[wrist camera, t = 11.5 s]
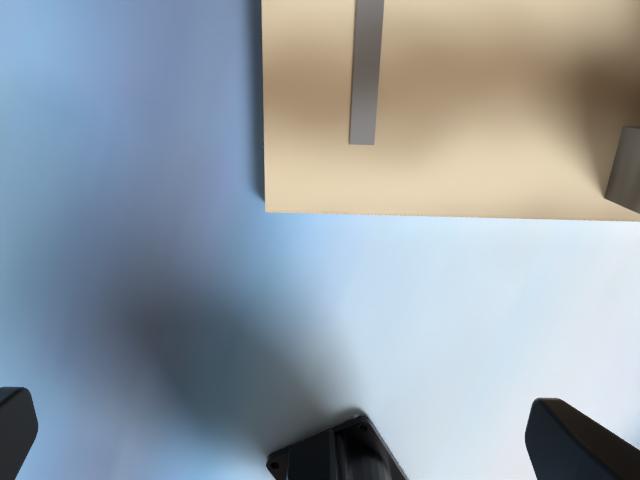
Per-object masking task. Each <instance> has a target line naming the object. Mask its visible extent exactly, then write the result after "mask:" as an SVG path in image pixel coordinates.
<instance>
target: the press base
mask: <svg viewBox="0 0 640 480" xmlns="http://www.w3.org/2000/svg"><path fill="white" fill-rule="evenodd" d="M262 53H263V108H264V164H265V212H282V213H322V214H361V215H401V216H440V217H480V218H520V219H559V220H599V221H639V222H640V0H262Z"/></svg>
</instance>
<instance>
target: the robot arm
mask: <svg viewBox="0 0 640 480" xmlns="http://www.w3.org/2000/svg"><path fill="white" fill-rule="evenodd" d="M361 425H365V426H364V427H359V426H361ZM37 432H38V421H37V417H36V413H35V409H34V405H33V401H32V397H31V394H30V392H29V390H28V389H27V388H24V387H1V388H0V480H15V478H16V476H17V474H18V472H19V470H20V468H21V466H22V464H23V462H24V460H25V458H26V456H27V454H28V452H29V450H30V448H31V446H32V444H33V442H34V440H35V438H36V435H37ZM525 443H526V448H527V451H528V454H529V457H530V460H531V463H532V465H533V468H534V471H535V474H536V477H537V480H640V450H638V449H637V448H635V447H634V446H632V445H631V444H629V443H628V442H626V441H625V440H623V439H621V438H620V437H618V436H617V435H615V434H614V433H612V432H611V431H609V430H608V429H606V428H605V427H603V426H601V425H600V424H598V423H597V422H595V421H594V420H592V419H591V418H589V417H588V416H586V415H584V414H583V413H581V412H580V411H578V410H577V409H575V408H574V407H572V406H571V405H569V404H568V403H566V402H564V401H563V400H561V399H558V398H537V399H535V400H534V401H533V403H532V407H531V411H530V415H529V419H528V423H527V427H526V431H525ZM273 462H277V463H273ZM266 467H267V469H268V470H269V471H270V473H271V474H272V475H273V476H274V478H275V479H276V480H408V479H407V477H406V475H405V474H404V472H403V471H402V469H401V468H400V466H399V464H398V463H397V461H396V460H395V458H394V457H393V455H392V453H391V452H390V450H389V449H388V447H387V445H386V444H385V442H384V441H383V439H382V438H381V436H380V434H379V433H378V431H377V430H376V428H375V427H374V425H373V423H372V422H371V420H370V419H369V418H367V417H365V416H360V417H357V418H354V419H352V420H350V421H347V422H345V423H343V424H340V425H338V426H336V427H333V428H331V429H329V430H326V431H324V432H321V433H319V434H317V435H314V436H312V437H310V438H307V439H305V440H303V441H300V442H298V443H295V444H293V445H291V446H288V447H286V448H284V449H281V450H279V451H277V452H274V453H272V454H270V455H269V456H268V457H267V463H266Z"/></svg>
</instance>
